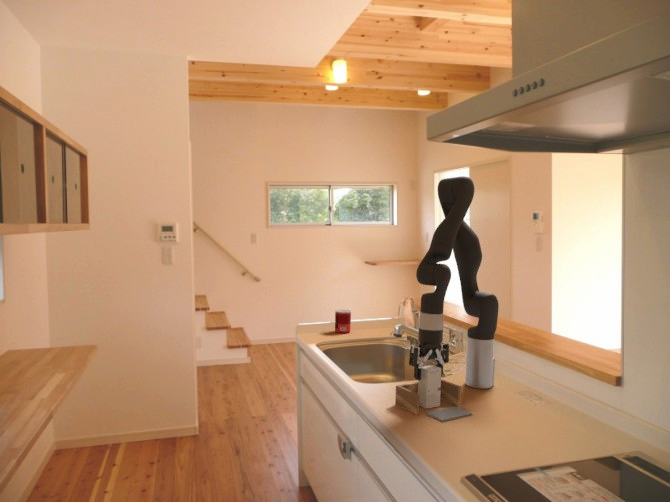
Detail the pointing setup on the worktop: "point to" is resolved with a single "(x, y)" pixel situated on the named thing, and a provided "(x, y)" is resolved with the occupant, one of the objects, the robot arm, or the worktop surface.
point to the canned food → (342, 321)
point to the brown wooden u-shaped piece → (410, 397)
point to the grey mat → (448, 413)
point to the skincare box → (429, 387)
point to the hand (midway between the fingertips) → (428, 378)
